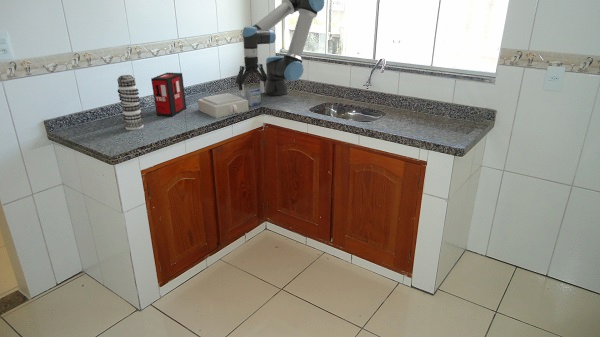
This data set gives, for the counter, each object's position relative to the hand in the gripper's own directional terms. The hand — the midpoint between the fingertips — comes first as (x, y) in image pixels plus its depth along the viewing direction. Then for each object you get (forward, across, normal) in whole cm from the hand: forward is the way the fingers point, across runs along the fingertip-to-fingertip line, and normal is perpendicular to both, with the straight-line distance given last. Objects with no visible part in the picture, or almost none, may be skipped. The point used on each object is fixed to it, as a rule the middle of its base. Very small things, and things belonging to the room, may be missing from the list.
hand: (252, 94), depth 232 cm
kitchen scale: (+7, -19, 0) cm, 20 cm away
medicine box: (+6, +1, 0) cm, 6 cm away
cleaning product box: (+7, -42, +16) cm, 46 cm away
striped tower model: (+8, -67, +3) cm, 68 cm away
